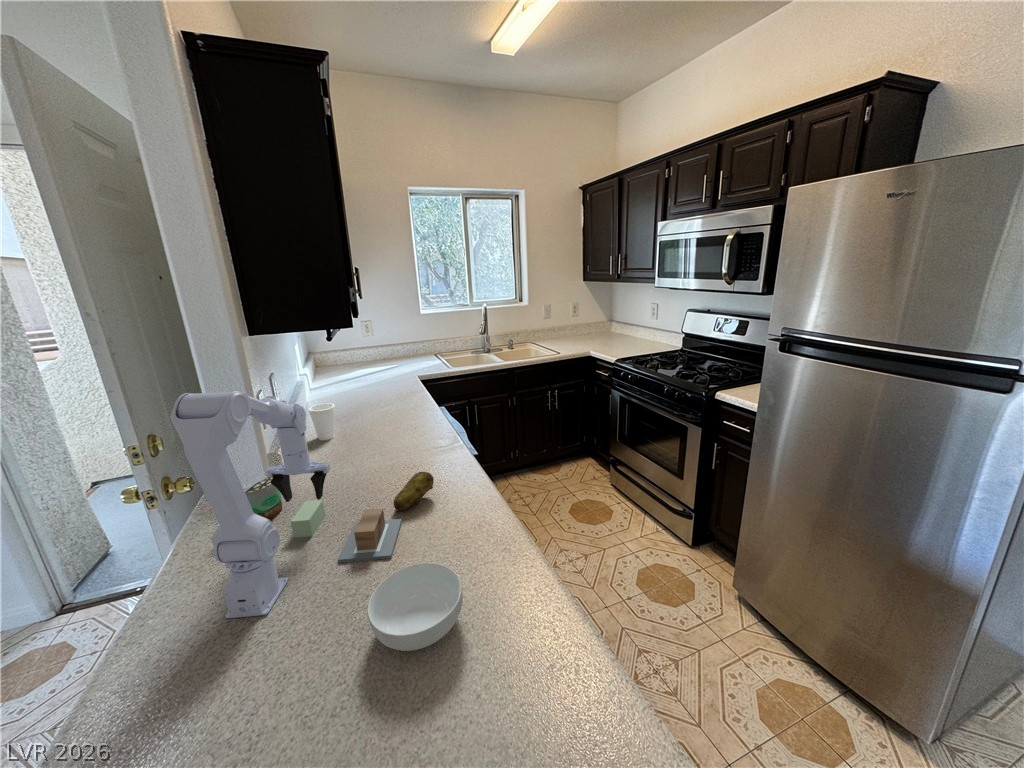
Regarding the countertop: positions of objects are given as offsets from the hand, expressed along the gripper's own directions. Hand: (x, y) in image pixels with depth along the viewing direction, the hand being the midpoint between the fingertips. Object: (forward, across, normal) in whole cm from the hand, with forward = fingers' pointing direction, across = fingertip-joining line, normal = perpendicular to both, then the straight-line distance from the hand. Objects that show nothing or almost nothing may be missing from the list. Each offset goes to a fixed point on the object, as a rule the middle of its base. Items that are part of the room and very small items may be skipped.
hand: (304, 498), depth 102 cm
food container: (+9, +13, -7) cm, 17 cm away
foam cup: (+9, +17, -61) cm, 64 cm away
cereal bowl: (+8, -33, +34) cm, 48 cm away
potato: (+9, -26, -8) cm, 28 cm away
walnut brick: (+8, -18, +8) cm, 21 cm away
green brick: (+8, 0, 0) cm, 9 cm away
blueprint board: (+8, -18, +8) cm, 21 cm away
